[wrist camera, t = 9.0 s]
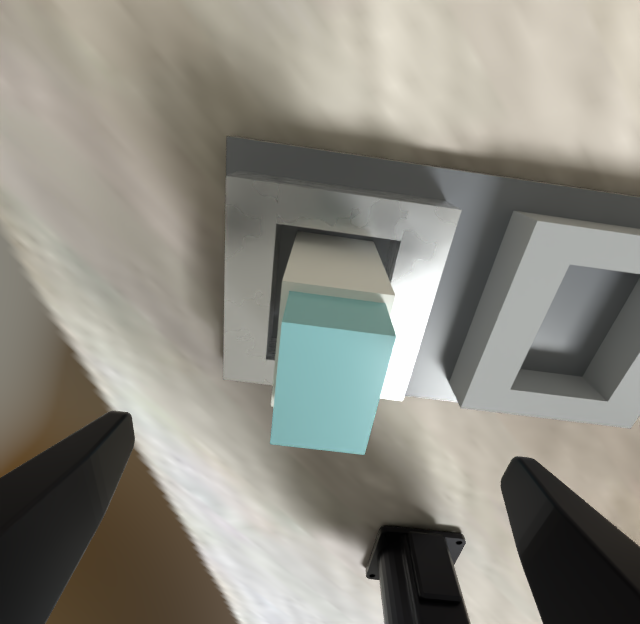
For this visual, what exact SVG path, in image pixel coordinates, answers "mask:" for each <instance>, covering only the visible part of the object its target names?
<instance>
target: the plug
mask: <svg viewBox="0 0 640 624" xmlns="http://www.w3.org/2000/svg"><path fill="white" fill-rule="evenodd" d="M395 296H396V295H395V293H394V291H393V288H392V286H391V283H390V281H389V278H388V276H387V273H386V271H385V268H384V266H383V263H382V261H381V259H380V256H379V254H378V251H377V249H376V246H375V244H374V242H373V241H366V240H359V239H351V238H344V237H337V236H330V235H322V234H315V233H308V232H301V231H297V234H296V238H295V241H294V244H293V247H292V250H291V254H290V257H289V260H288V263H287V267H286V270H285V273H284V276H283V280H282V288H281V299H280V310H279V321H278V332H277V343H276V354H275V365H274V376H273V386H272V397H271V407H274V408H273V419H272V429H271V440H270V444H272V445H281V446H290V447H299V448H308V449H317V450H326V451H335V452H344V453H352V454H361V455H365V451H366V448H367V444H368V440H369V437H370V433H371V429H372V425H373V422H374V418H375V414H376V410H377V407H378V403H379V399H380V396H381V392H382V388H383V384H384V381H385V377H386V373H387V370H388V366H389V362H390V358H391V355H392V351H393V347H394V343H395V340H396V334H395V331H394V328H393V325H392V322H391V319H390V316H391V312H392V308H393V304H394V300H395Z"/></svg>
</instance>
